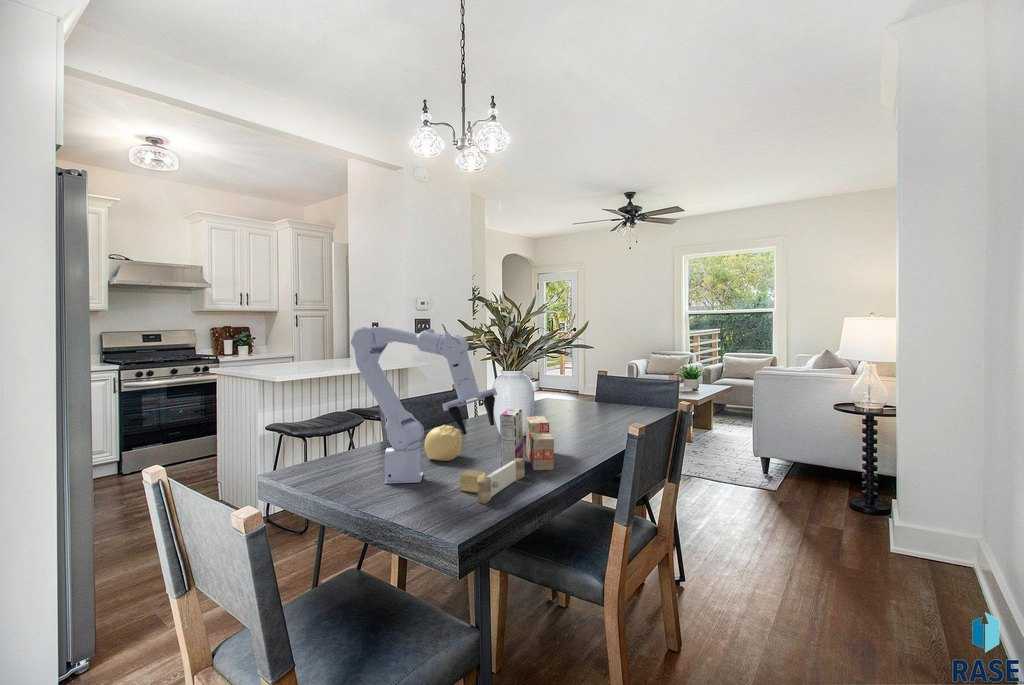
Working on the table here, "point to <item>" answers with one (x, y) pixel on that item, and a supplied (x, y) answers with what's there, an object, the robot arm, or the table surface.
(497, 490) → the door
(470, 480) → the tan wooden block
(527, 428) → the stack of blocks
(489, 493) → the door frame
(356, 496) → the table surface
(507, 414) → the candy bar box
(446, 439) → the yellow round lump
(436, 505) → the table surface
